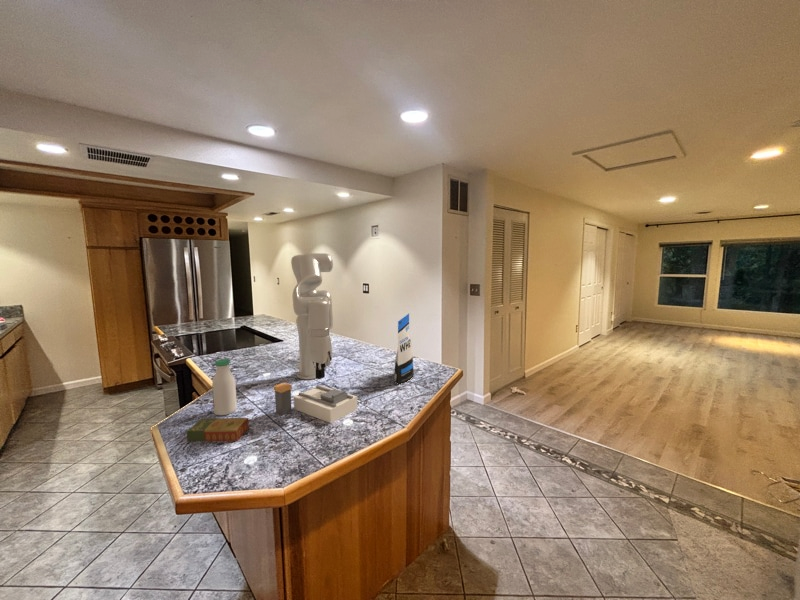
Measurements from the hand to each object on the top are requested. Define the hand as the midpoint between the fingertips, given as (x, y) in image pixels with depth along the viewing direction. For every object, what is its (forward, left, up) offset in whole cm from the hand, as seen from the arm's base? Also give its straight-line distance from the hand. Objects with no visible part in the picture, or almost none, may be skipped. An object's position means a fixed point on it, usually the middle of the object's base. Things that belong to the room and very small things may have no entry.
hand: (320, 377), depth 128 cm
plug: (-8, -12, -12) cm, 18 cm away
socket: (+3, -1, -12) cm, 12 cm away
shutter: (+8, -1, -7) cm, 10 cm away
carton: (-12, -34, -12) cm, 38 cm away
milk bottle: (-27, -24, -12) cm, 38 cm away
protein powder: (+8, +46, -12) cm, 49 cm away
